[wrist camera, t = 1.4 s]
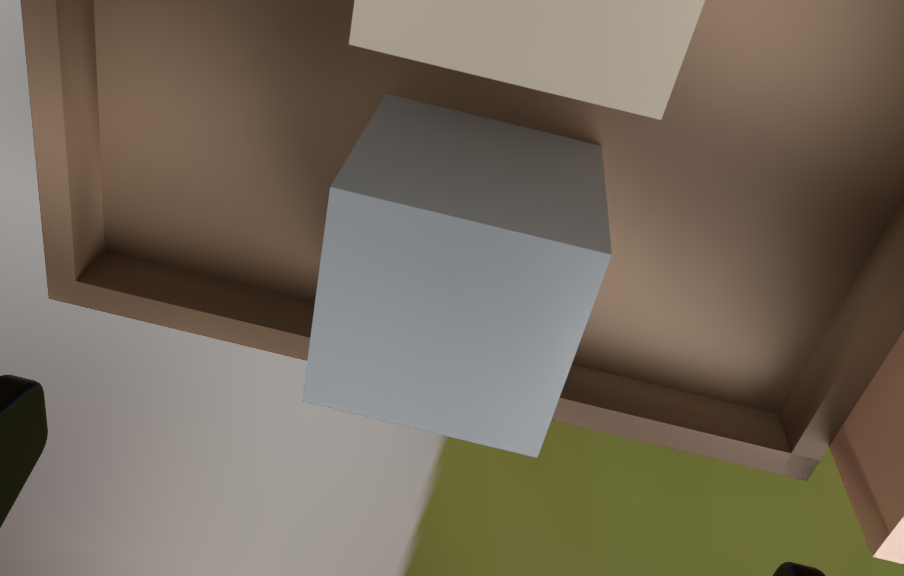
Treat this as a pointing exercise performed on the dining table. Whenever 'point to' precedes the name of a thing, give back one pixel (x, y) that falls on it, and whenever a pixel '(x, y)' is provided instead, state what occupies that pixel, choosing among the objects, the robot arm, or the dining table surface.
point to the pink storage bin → (877, 458)
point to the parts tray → (618, 132)
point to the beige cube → (543, 43)
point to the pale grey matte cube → (457, 274)
